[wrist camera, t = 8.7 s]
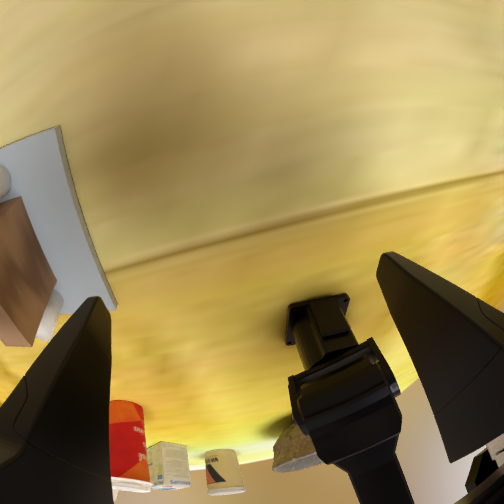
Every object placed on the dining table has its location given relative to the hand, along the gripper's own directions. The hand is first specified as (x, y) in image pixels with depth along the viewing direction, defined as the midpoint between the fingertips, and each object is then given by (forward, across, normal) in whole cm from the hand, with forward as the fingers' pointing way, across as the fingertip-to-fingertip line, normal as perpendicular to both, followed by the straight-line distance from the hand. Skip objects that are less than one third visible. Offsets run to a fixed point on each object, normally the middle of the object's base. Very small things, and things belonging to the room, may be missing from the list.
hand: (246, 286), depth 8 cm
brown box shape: (+11, +16, +3) cm, 20 cm away
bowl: (+12, -12, +53) cm, 56 cm away
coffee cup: (+12, +9, +70) cm, 71 cm away
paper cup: (+12, +19, +34) cm, 41 cm away
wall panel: (+12, +16, +3) cm, 20 cm away
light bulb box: (+12, +21, +60) cm, 65 cm away
